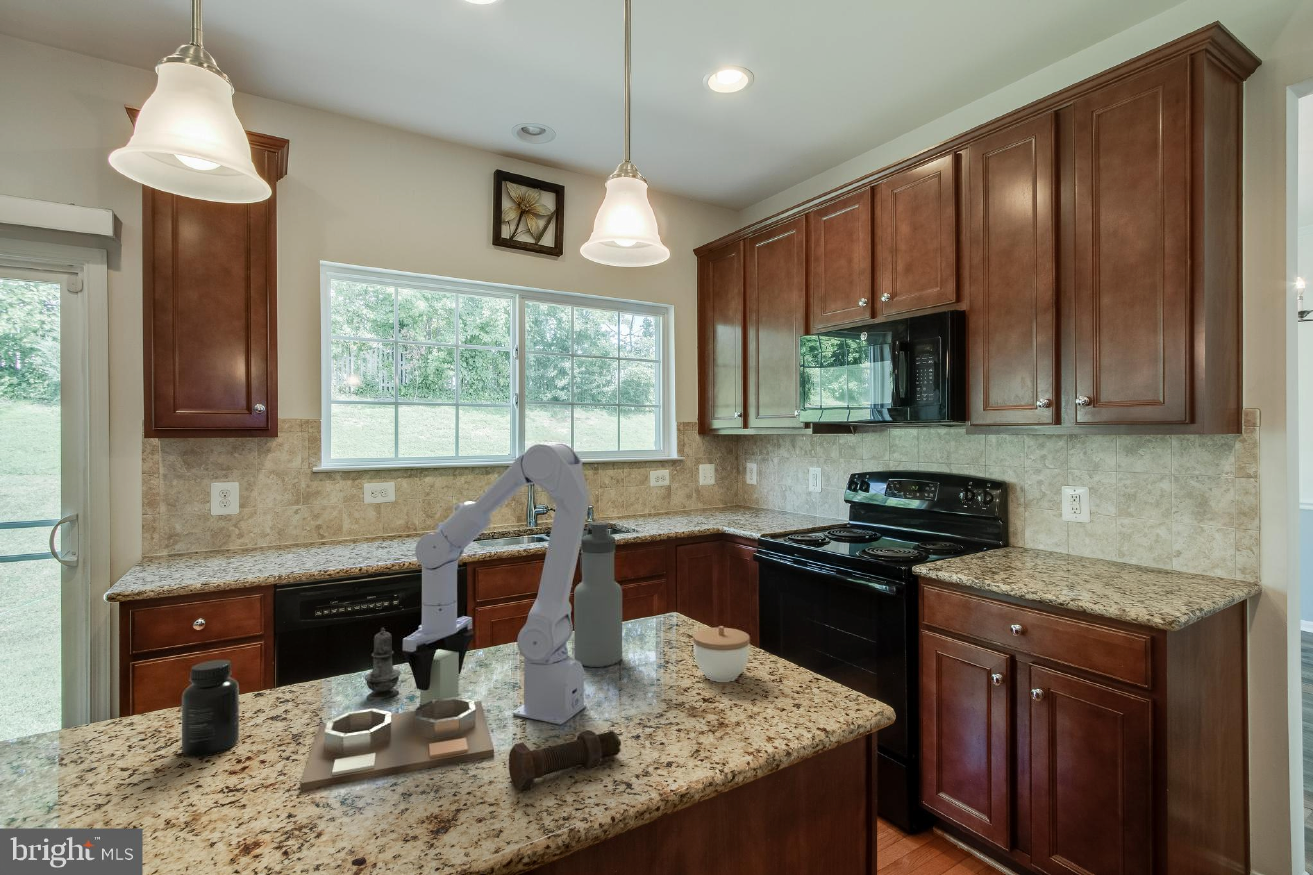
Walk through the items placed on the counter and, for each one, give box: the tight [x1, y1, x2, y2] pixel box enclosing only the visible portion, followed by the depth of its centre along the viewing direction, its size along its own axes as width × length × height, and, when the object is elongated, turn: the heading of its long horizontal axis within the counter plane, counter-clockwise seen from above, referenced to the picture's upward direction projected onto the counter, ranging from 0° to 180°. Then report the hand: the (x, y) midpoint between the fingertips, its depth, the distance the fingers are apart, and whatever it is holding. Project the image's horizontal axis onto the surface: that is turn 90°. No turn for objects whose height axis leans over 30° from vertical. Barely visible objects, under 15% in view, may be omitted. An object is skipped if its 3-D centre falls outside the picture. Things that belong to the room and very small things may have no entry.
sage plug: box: [419, 648, 460, 706], centre depth 108 cm, size 4×4×8 cm
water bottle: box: [573, 521, 623, 668], centre depth 129 cm, size 10×10×28 cm
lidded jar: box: [692, 625, 751, 683], centre depth 119 cm, size 11×11×9 cm
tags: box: [332, 738, 468, 775], centre depth 87 cm, size 17×4×1 cm, turn 111°
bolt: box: [508, 729, 622, 794], centre depth 85 cm, size 6×5×15 cm
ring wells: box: [325, 696, 476, 755], centre depth 94 cm, size 21×9×2 cm, turn 111°
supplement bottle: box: [181, 659, 240, 758], centre depth 92 cm, size 7×7×12 cm
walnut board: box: [300, 700, 495, 792], centre depth 93 cm, size 24×18×1 cm
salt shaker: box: [364, 626, 402, 703], centre depth 111 cm, size 6×6×12 cm
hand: (439, 681), depth 108 cm, fingers open, 7 cm apart
